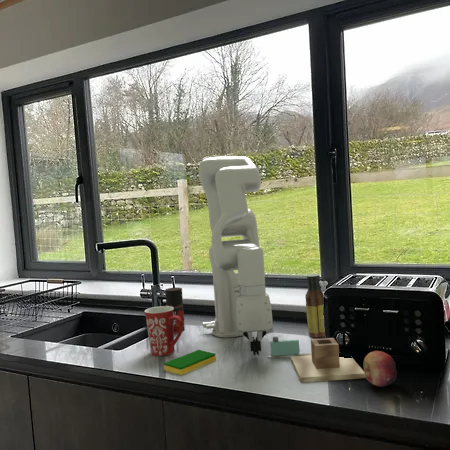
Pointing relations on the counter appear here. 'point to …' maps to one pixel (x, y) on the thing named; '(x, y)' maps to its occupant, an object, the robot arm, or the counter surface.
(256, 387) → the counter surface
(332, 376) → the seat
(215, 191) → the robot arm
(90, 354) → the counter surface
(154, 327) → the mug
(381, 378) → the fruit
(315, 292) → the sauce bottle
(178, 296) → the deodorant
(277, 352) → the bar
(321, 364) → the block
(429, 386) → the counter surface
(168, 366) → the dish sponge
